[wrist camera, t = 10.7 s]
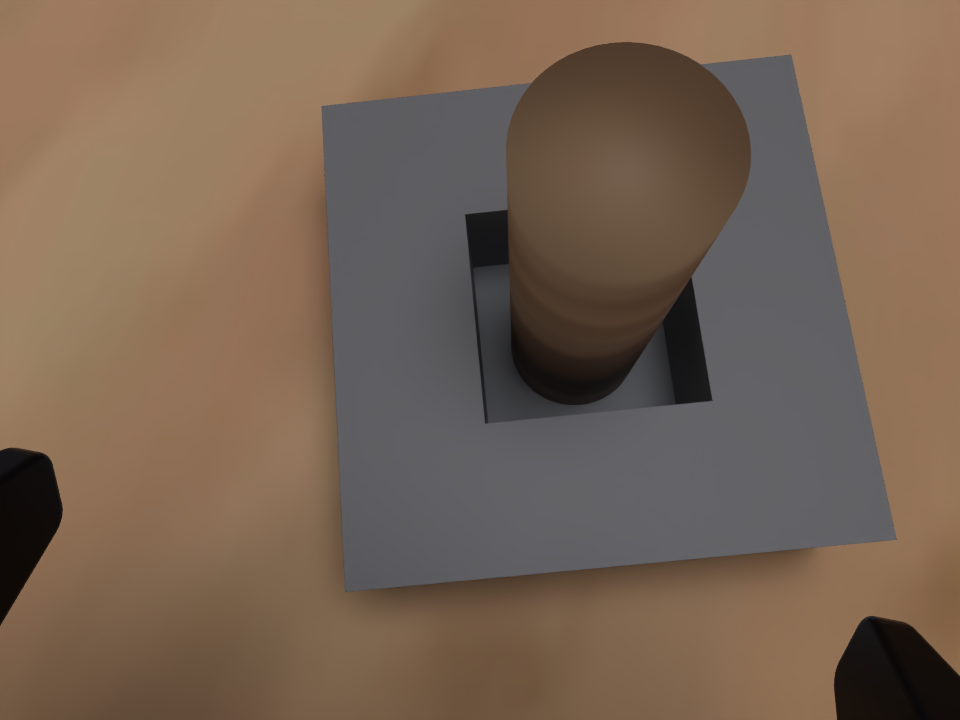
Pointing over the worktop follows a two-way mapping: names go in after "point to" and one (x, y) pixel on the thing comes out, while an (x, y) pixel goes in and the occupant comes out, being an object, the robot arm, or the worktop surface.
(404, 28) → the worktop surface
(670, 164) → the walnut pin
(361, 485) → the socket block
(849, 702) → the robot arm
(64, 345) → the worktop surface
